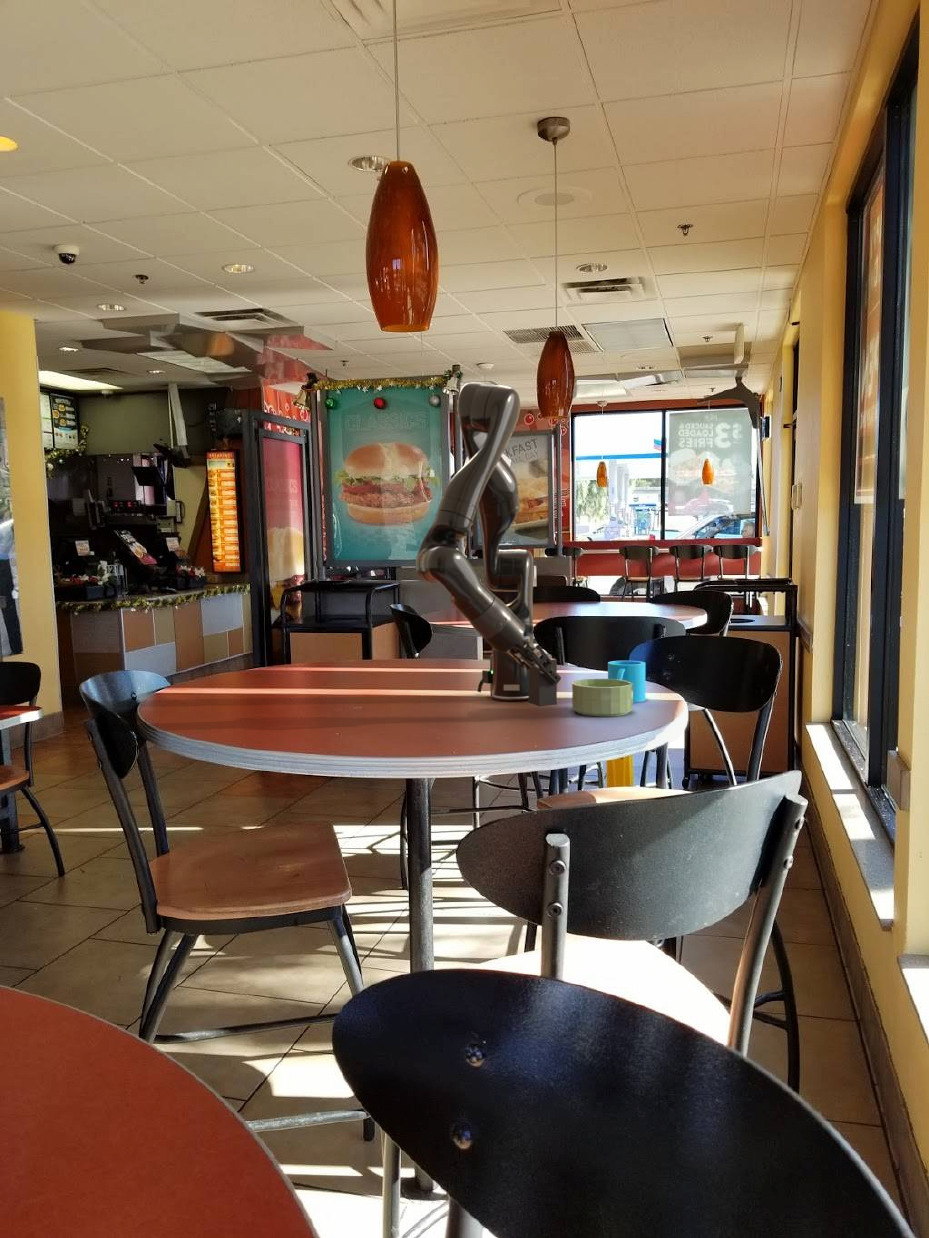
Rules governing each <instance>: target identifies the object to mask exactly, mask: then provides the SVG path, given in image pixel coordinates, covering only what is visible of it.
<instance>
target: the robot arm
mask: <svg viewBox="0 0 929 1238" xmlns="http://www.w3.org/2000/svg"><path fill="white" fill-rule="evenodd" d="M520 412H521V398H520V394H519V393H518V391H517V390H516V389H515V388H512V387H510V386H505V385H497V384H491V383H485V382H477V381H472V382H467V383H465V384H464V385H463V386H462V387H461V389H460V391H459V394H458V398H457V418H458V423H459V428H460V432H461V435H462V439H463V443H464V446H465V450H466V454H467V458H468V462H467V463H466V464H465V465H464V466H462V467H461V468H460V469H459V470H458V471H457V472H456V473H455V474H454V475H453V476H452V478H451V479H450V480H449V482H448V483H447V485H446V486H445V488H444V490H443V492H442V496H441V499H440V501H439V504H438V508H437V511H436V513H435V518H434V520H433V522H432V524H431V526H430V527H429V529H428V531H427V532H426V534H425V536H424V538H423V540H422V541H421V544H420V546H419V548H418V550H417V554H416V556H415V557H416V558H415V570H416V573H417V575H418V576H419V578H420V579H422V580H423V581H425V582H427V583H432V584H433V583H439V584H441V585H442V586H443V587H444V588H445V589H446V590H447V592H448V593H449V594H450V602H451V603H452V605H453V606H454V607H455V608H456V609H457V610H458V612H459V613H460V614H461V615H462V616H464V618H465V619H466V620H467V621H468V623H470V625H471V626H472V627H473V629H474V630H475V631H476V632H477V633H478V634H479V635H480V636H481V637H482V638H483V639H484V640H485V641H486V642H487V643H488V644H489V645H490V646H491V655H490V656H489V669H482V670H481V675H482V676H481V677H482V678H481V679H480V681H479V682H478V686H477V693H482V689H483V685H484V684H487V685H489V686H490V687H489V693H490V697H491V698H492V699H494V700H497V701H507V702H519V701H529V672H528V666H529V667H531V668H532V667H534V668H535V669H537V670H538V671H539V672H540V673H541V674H542V675H543V676H544V677H545V678H546V679H547V680H548V681H549V682H550V683H551V684H552V685H557V686H558V684H559V682H560V681H561V679H562V676H560V673H559V674H558V671H557V672H556V671H555V670H554V669H553V668H552V667H551V666H552V665H553V662H552V661H551V660H550V658H551V657H549V656H548V654H547V653H546V652H545V650H544V649H543V647H542V646H540V645H539V644H536V645H534V622H533V621H534V611H533V610H534V609H533V608H534V605H533V603H534V601H533V600H534V599H533V598H534V597H533V596H534V577H535V576H534V575H535V564H534V563H535V562H534V557H533V554H532V552H531V551H530V550H527V549H499V546H500V543H501V541H502V539H503V537H504V536H505V534H506V533H507V531H508V530H509V529H510V527H511V526H512V525H513V523H514V522H515V520H516V518H517V517H518V514H519V512H520V509H521V503H520V502H521V501H520V492H519V484H518V480H517V477H516V475H515V473H514V471H513V469H512V468H511V466H510V465H509V463H508V462H507V461H506V460H505V458H504V457H503V456H502V455H503V454H504V451H505V449H506V448H507V445H508V443H509V441H510V439H511V437H512V435H513V433H514V430H515V428H516V426H517V423H518V420H519V416H520ZM476 514H477V520H478V525H479V530H480V536H481V549H482V561H483V572H484V573H483V574H484V580H485V583H484V582H483V581H482V580H480V578H479V576H478V574H477V572H476V570H475V569H474V567H473V566H472V564H471V562H470V561H469V559H468V558H467V557H466V556H465V554H464V553H462V551H461V550H459V549H458V548H457V547H458V544H459V543H460V541H461V540H462V539H464V538H465V537H467V535H469V533H470V531H471V529H472V527H473V526H472V525H473V523H474V521H475V517H476ZM493 592H517V593H518V594H517V596H516V598H515V599H514V600H512V601H510V602H509V603H507V604H505V602H504V601H503V600H501V598H500V597H498V596H497V595H495V593H493ZM532 659H533V662H530V661H531V660H532ZM543 663H544V664H543Z"/></svg>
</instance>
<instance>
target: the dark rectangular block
mask: <svg viewBox="0 0 929 1238" xmlns="http://www.w3.org/2000/svg"><path fill="white" fill-rule="evenodd" d="M549 658H550V660H551V661H552V662H553V665H552V666H551V667H552V668H553V669H554V670H555V671H556V672H557V673H558V661H557V658H552V657H549ZM530 662H533V659H532V660H531V661H530ZM543 664H544V663H543ZM528 672H529V700H528V704H532V705H534V706H537V707H546V706H556V705H558V684H557V685H552V684H551V683H550V682H549V681H548V680H547V679H546V678H545V677H544V676H543V675H542V674H541V673H540V672H539V671H538V670H537V669H535V668H534V667H532V668H531V667H529V666H528Z"/></svg>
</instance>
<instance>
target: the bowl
mask: <svg viewBox="0 0 929 1238" xmlns="http://www.w3.org/2000/svg"><path fill="white" fill-rule="evenodd" d="M571 697H572V698H571V706H572V707H571V709H572V710H573V711H574V712H576V713H577V714H579V715H583V716H587V717H588V716H589V717H604V718H605V717H619V716H624V715H627V714H628V713H629V712H632V711H633V710H634V703H633V683H632V682H630V681H626V680H619V679H608V678H585V679H578V680H574V681H572V682H571Z"/></svg>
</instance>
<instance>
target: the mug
mask: <svg viewBox="0 0 929 1238" xmlns="http://www.w3.org/2000/svg"><path fill="white" fill-rule="evenodd" d="M607 679H619V680H626V681H630V682H632V683H633V704H634V703H642V702H643V703H644V702H645V701H646V662H645V661H642V660H641V661H639V660H612V661H608V662H607Z"/></svg>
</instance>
